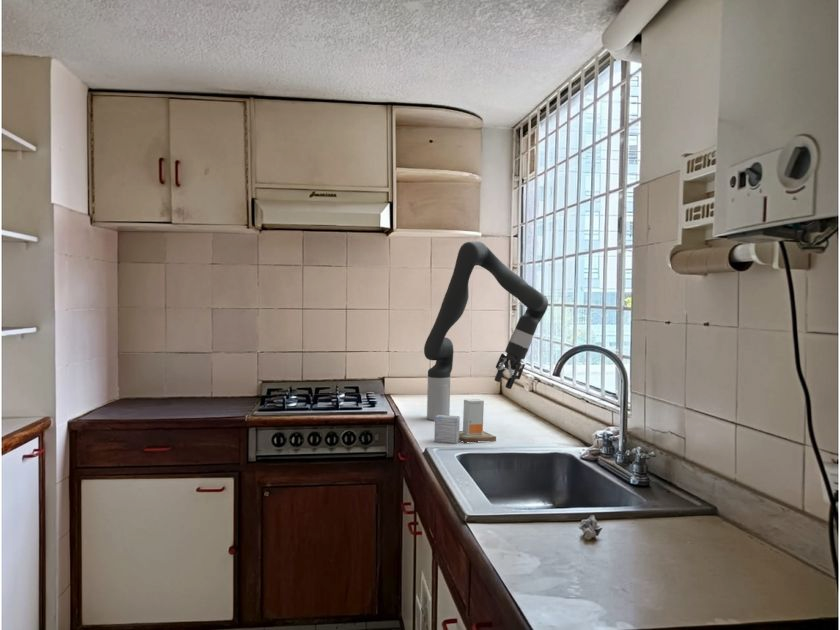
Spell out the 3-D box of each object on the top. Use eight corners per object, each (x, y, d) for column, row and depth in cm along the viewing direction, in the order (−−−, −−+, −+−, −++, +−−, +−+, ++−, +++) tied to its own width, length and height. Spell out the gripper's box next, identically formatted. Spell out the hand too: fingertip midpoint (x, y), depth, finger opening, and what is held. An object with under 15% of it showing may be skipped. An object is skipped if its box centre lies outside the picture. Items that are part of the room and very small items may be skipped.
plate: (449, 435, 219) (450, 431, 219) (479, 433, 223) (480, 429, 223) (464, 443, 208) (464, 438, 208) (496, 441, 212) (496, 436, 212)
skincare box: (467, 435, 212) (468, 401, 212) (462, 433, 216) (463, 399, 216) (483, 434, 214) (484, 400, 214) (478, 432, 218) (478, 398, 218)
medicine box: (459, 441, 211) (460, 416, 211) (456, 443, 207) (457, 418, 207) (437, 439, 213) (437, 414, 213) (434, 442, 209) (434, 416, 209)
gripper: (501, 336, 229) (485, 376, 229) (520, 345, 216) (503, 387, 216) (517, 342, 232) (501, 382, 232) (537, 351, 219) (520, 393, 219)
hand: (502, 384), depth 224 cm, fingers open, 8 cm apart
